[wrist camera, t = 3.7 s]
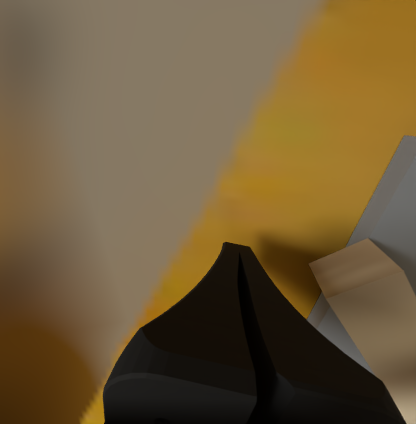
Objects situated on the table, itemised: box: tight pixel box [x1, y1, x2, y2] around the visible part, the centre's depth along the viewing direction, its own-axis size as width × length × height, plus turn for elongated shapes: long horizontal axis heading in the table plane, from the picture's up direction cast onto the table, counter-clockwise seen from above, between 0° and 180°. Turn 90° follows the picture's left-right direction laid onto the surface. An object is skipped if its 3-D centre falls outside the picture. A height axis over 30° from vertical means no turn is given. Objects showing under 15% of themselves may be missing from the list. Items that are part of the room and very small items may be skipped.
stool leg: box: [309, 238, 416, 424], centre depth 12 cm, size 16×3×2 cm, turn 35°
